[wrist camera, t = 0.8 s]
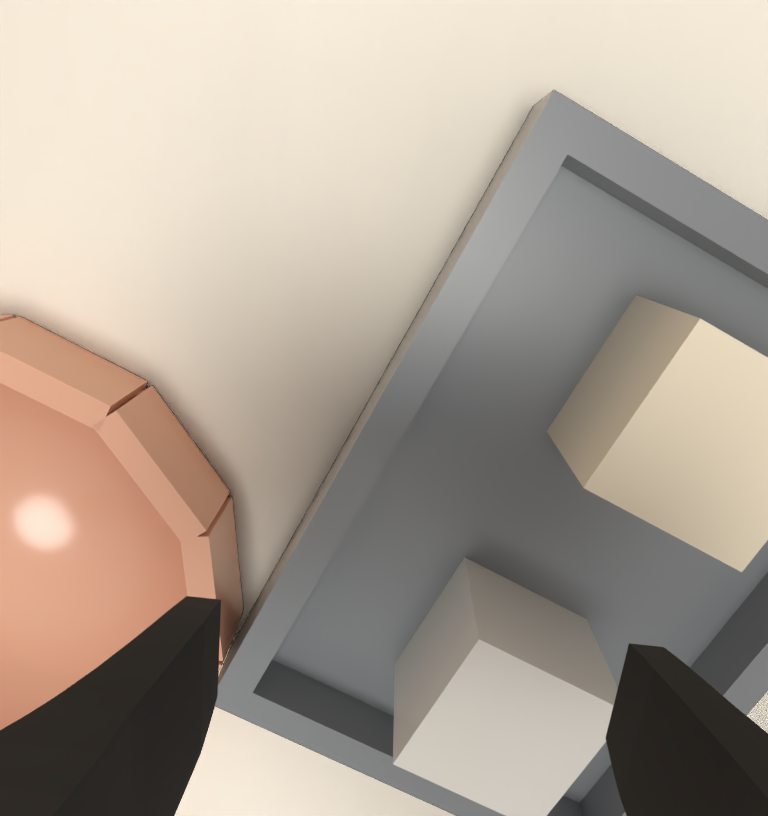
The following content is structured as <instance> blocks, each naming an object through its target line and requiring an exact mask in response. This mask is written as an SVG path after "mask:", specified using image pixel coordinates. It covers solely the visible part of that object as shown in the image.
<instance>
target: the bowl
mask: <svg viewBox="0 0 768 816" xmlns="http://www.w3.org/2000/svg"><path fill="white" fill-rule="evenodd" d="M147 382H148V381H146V380H144V379H143V378H141V377H139V376H137V375H135V374H133V373H131V372H129V371H127V370H125V369H123V368H121V367H119V366H117V365H115V364H113V363H111V362H109V361H107V360H105V359H103V358H101V357H99V356H97V355H95V354H93V353H91V352H89V351H88V350H86V349H84V348H82V347H80V346H78V345H76V344H74V343H72V342H70V341H68V340H66V339H64V338H62V337H60V336H58V335H56V334H54V333H52V332H50V331H48V330H46V329H44V328H42V327H40V326H38V325H36V324H34V323H33V322H31V321H29V320H27V319H25V318H23V317H21V316H20V317H16V318H15V316H14V315H0V730H1V729H3V728H5V727H7V726H8V725H10V724H12V723H13V722H15V721H17V720H19V719H20V718H22V717H24V716H25V715H27V714H29V713H30V712H32V711H34V710H35V709H37V708H38V707H40V706H42V705H43V704H45V703H46V702H48V701H49V700H51V699H52V698H54V697H55V696H57V695H58V694H60V693H61V692H63V691H64V690H66V689H67V688H68V687H70V686H71V685H73V684H74V683H76V682H77V681H78V680H80V679H81V678H83V677H84V676H85V675H87V674H88V673H90V672H91V671H93V670H94V669H95V668H97V667H98V666H99V665H101V664H102V663H103V662H105V661H106V660H107V659H108V658H110V657H111V656H112V655H114V654H115V653H116V652H117V651H119V650H120V649H121V648H123V647H124V646H125V645H126V644H128V643H129V642H130V641H132V640H133V639H134V638H135V637H137V636H138V635H139V634H140V633H142V632H143V631H144V630H145V629H146V628H148V627H149V626H150V625H151V624H153V623H154V622H155V621H156V620H157V619H159V618H160V617H161V616H162V615H163V614H165V613H166V612H167V611H168V610H170V609H171V608H172V607H173V606H175V605H176V604H177V603H178V602H180V601H181V600H182V599H184V598H185V597H186V596H191V597H201V598H210V599H219V600H221V618H220V644H219V669H218V672H219V670H220V668H221V666H222V664H223V662H224V659H225V657H226V654H227V651H228V649H229V646H230V644H231V641H232V639H233V636H234V634H235V631H236V629H237V626H238V624H239V621H240V619H241V616H242V614H243V613H242V611H243V599H242V589H241V579H240V569H239V559H238V549H237V540H236V530H235V520H234V510H233V500H232V497H227V496H228V495H229V493H230V491H229V490H228V488H227V487H226V485H225V484H224V483H223V481H222V480H221V479H220V477H219V476H218V474H217V473H216V472H215V470H214V469H213V468H212V466H211V465H210V463H209V462H208V461H207V459H206V458H205V457H204V455H203V454H202V452H201V451H200V450H199V448H198V447H197V446H196V444H195V443H194V441H193V440H192V439H191V437H190V436H189V435H188V433H187V432H186V430H185V429H184V428H183V426H182V425H181V424H180V422H179V421H178V420H177V418H176V417H175V415H174V414H173V413H172V411H171V410H170V409H169V407H168V406H167V404H166V403H165V402H164V400H163V399H162V398H161V396H160V395H159V393H158V392H157V391H156V389H155V388H154V387H153V385H152V386H150V387H149V388H147V389H144V388H145V386H146V384H147Z"/></svg>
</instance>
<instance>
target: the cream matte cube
mask: <svg viewBox="0 0 768 816" xmlns="http://www.w3.org/2000/svg"><path fill="white" fill-rule="evenodd" d="M547 433H548V434H549V436H550V437H551V439H552V441H553V442H554V444H555V445H556V447H557V448H558V450H559V451H560V453H561V454H562V456H563V457H564V459H565V460H566V462H567V464H568V465H569V467H570V468H571V470H572V471H573V473H574V474H575V476H576V477H577V479H578V480H579V482H580V483H581V485H582V487H583V488H584V489H586V490H588V491H590V492H592V493H594V494H596V495H598V496H599V497H601V498H603V499H605V500H607V501H609V502H611V503H613V504H615V505H616V506H618V507H620V508H622V509H624V510H626V511H628V512H630V513H631V514H633V515H635V516H637V517H639V518H641V519H643V520H645V521H646V522H648V523H650V524H652V525H654V526H656V527H658V528H660V529H661V530H663V531H665V532H667V533H669V534H671V535H673V536H675V537H676V538H678V539H680V540H682V541H684V542H686V543H688V544H690V545H691V546H693V547H695V548H697V549H699V550H701V551H703V552H705V553H707V554H708V555H710V556H712V557H714V558H716V559H718V560H720V561H722V562H723V563H725V564H727V565H729V566H731V567H733V568H735V569H737V570H738V571H740V572H742V571H743V570H744V569H745V568H746V566H747V565H748V564H749V563H750V561H751V560H752V559H753V558H754V556H755V555H756V554H757V553H758V551H759V550H760V549H761V548H762V547H763V545H764V544H765V543H766V542H767V540H768V357H766V356H764V355H762V354H761V353H759V352H757V351H756V350H754V349H752V348H750V347H749V346H747V345H745V344H744V343H742V342H740V341H738V340H737V339H735V338H733V337H732V336H730V335H728V334H726V333H725V332H723V331H721V330H719V329H718V328H716V327H714V326H713V325H711V324H709V323H707V322H706V321H704V320H702V319H701V318H698V317H695V316H692V315H690V314H687V313H684V312H681V311H679V310H676V309H673V308H670V307H668V306H665V305H662V304H659V303H657V302H654V301H651V300H648V299H646V298H643V297H640V296H637V295H635V297H634V298H633V300H632V301H631V303H630V304H629V306H628V308H627V309H626V311H625V312H624V314H623V315H622V317H621V318H620V320H619V321H618V323H617V324H616V326H615V327H614V329H613V330H612V332H611V334H610V335H609V337H608V338H607V340H606V341H605V343H604V344H603V346H602V347H601V349H600V350H599V352H598V353H597V355H596V357H595V358H594V360H593V361H592V363H591V364H590V366H589V367H588V369H587V370H586V372H585V373H584V375H583V376H582V378H581V379H580V381H579V383H578V384H577V386H576V387H575V389H574V390H573V392H572V393H571V395H570V396H569V398H568V399H567V401H566V402H565V404H564V406H563V407H562V409H561V410H560V412H559V413H558V415H557V416H556V418H555V419H554V421H553V422H552V424H551V425H550V427H549V428H548V430H547Z"/></svg>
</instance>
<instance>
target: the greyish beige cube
mask: <svg viewBox="0 0 768 816" xmlns="http://www.w3.org/2000/svg"><path fill="white" fill-rule="evenodd" d="M617 690H618V687H617V685H616V683H615V681H614V678H613V676H612V674H611V672H610V669H609V667H608V665H607V663H606V661H605V658H604V656H603V654H602V652H601V649H600V647H599V645H598V643H597V641H596V638H595V636H594V634H593V632H592V630H591V627H590V625H589V623H588V621H587V619H585V618H583V617H582V616H580V615H578V614H576V613H574V612H572V611H570V610H568V609H566V608H564V607H562V606H560V605H558V604H556V603H554V602H552V601H550V600H548V599H546V598H544V597H542V596H540V595H538V594H536V593H534V592H532V591H530V590H528V589H526V588H524V587H522V586H520V585H518V584H516V583H514V582H512V581H510V580H508V579H506V578H504V577H502V576H500V575H498V574H497V573H495V572H493V571H491V570H489V569H487V568H485V567H483V566H481V565H479V564H477V563H475V562H473V561H471V560H469V559H467V558H465V557H464V559H463V560H462V562H461V563H460V565H459V566H458V568H457V569H456V571H455V572H454V574H453V575H452V577H451V579H450V580H449V582H448V583H447V585H446V586H445V588H444V589H443V591H442V592H441V594H440V595H439V597H438V598H437V600H436V601H435V603H434V605H433V606H432V608H431V609H430V611H429V612H428V614H427V615H426V617H425V618H424V620H423V621H422V623H421V624H420V626H419V627H418V629H417V631H416V632H415V634H414V635H413V637H412V638H411V640H410V641H409V643H408V644H407V646H406V647H405V649H404V650H403V652H402V654H401V655H400V657H399V658H398V660H397V661H396V663H395V670H394V730H393V764H394V765H396V766H398V767H400V768H402V769H405V770H407V771H409V772H411V773H413V774H416V775H418V776H420V777H422V778H424V779H426V780H429V781H431V782H433V783H435V784H437V785H440V786H442V787H444V788H446V789H448V790H450V791H453V792H455V793H457V794H459V795H461V796H464V797H466V798H468V799H470V800H472V801H474V802H477V803H479V804H481V805H483V806H485V807H488V808H490V809H492V810H494V811H496V812H498V813H501V814H503V815H505V816H547V815H548V813H549V812H550V811H551V810H552V808H553V807H554V806H555V805H556V804H557V802H558V801H559V800H560V799H561V797H562V796H563V795H564V794H565V792H566V791H567V790H568V789H569V787H570V786H571V785H572V784H573V782H574V781H575V780H576V779H577V777H578V776H579V775H580V774H581V772H582V771H583V770H584V769H585V767H586V766H587V765H588V764H589V762H590V761H591V760H592V759H593V757H594V756H595V755H596V754H597V752H598V751H599V750H600V749H601V747H602V746H603V745H604V744H605V742H606V734H607V730H608V726H609V722H610V718H611V714H612V710H613V706H614V702H615V698H616V694H617Z"/></svg>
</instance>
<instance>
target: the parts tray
mask: <svg viewBox="0 0 768 816" xmlns="http://www.w3.org/2000/svg"><path fill="white" fill-rule="evenodd" d="M635 295H637V296H640V297H643V298H646V299H648V300H651V301H654V302H657V303H659V304H662V305H665V306H668V307H670V308H673V309H676V310H679V311H681V312H684V313H687V314H690V315H692V316H695V317H698V318H701V319H702V320H704V321H706V322H707V323H709V324H711V325H713V326H714V327H716V328H718V329H719V330H721V331H723V332H725V333H726V334H728V335H730V336H732V337H733V338H735V339H737V340H738V341H740V342H742V343H744V344H745V345H747V346H749V347H750V348H752V349H754V350H756V351H757V352H759V353H761V354H762V355H764V356H766V357H768V220H767V219H766V218H764V217H762V216H761V215H759V214H757V213H756V212H754V211H752V210H751V209H749V208H748V207H746V206H744V205H743V204H741V203H739V202H738V201H736V200H734V199H733V198H731V197H730V196H728V195H726V194H725V193H723V192H721V191H720V190H718V189H716V188H715V187H713V186H712V185H710V184H708V183H707V182H705V181H703V180H702V179H700V178H698V177H697V176H695V175H694V174H692V173H690V172H689V171H687V170H685V169H684V168H682V167H680V166H679V165H677V164H676V163H674V162H672V161H671V160H669V159H667V158H666V157H664V156H662V155H661V154H659V153H657V152H656V151H654V150H653V149H651V148H649V147H648V146H646V145H644V144H643V143H641V142H639V141H638V140H636V139H635V138H633V137H631V136H630V135H628V134H626V133H625V132H623V131H621V130H620V129H618V128H617V127H615V126H613V125H612V124H610V123H608V122H607V121H605V120H603V119H602V118H600V117H599V116H597V115H595V114H594V113H592V112H590V111H589V110H587V109H585V108H584V107H582V106H581V105H579V104H577V103H576V102H574V101H572V100H571V99H569V98H567V97H566V96H564V95H563V94H561V93H559V92H558V91H556V90H553V91H552V92H550V93H549V94H548V95H547V96H545V97H544V98H543V99H542V100H540V101H539V102H538V103H537V104H535V105H534V106H533V107H532V109H531V111H530V113H529V114H528V116H527V118H526V120H525V122H524V123H523V125H522V127H521V129H520V131H519V132H518V134H517V136H516V138H515V139H514V141H513V143H512V145H511V147H510V148H509V150H508V152H507V154H506V156H505V157H504V159H503V161H502V163H501V164H500V166H499V168H498V170H497V172H496V173H495V175H494V177H493V179H492V181H491V182H490V184H489V186H488V188H487V190H486V191H485V193H484V195H483V197H482V198H481V200H480V202H479V204H478V206H477V207H476V209H475V211H474V213H473V215H472V216H471V218H470V220H469V222H468V224H467V225H466V227H465V229H464V231H463V232H462V234H461V236H460V238H459V240H458V241H457V243H456V245H455V247H454V249H453V250H452V252H451V254H450V256H449V258H448V259H447V261H446V263H445V265H444V266H443V268H442V270H441V272H440V274H439V275H438V277H437V279H436V281H435V283H434V284H433V286H432V288H431V290H430V291H429V293H428V295H427V297H426V299H425V300H424V302H423V304H422V306H421V308H420V309H419V311H418V313H417V315H416V317H415V318H414V320H413V322H412V324H411V325H410V327H409V329H408V331H407V333H406V334H405V336H404V338H403V340H402V342H401V343H400V345H399V347H398V349H397V351H396V352H395V354H394V356H393V358H392V359H391V361H390V363H389V365H388V367H387V368H386V370H385V372H384V374H383V376H382V377H381V379H380V381H379V383H378V384H377V386H376V388H375V390H374V392H373V393H372V395H371V397H370V399H369V401H368V402H367V404H366V406H365V408H364V410H363V411H362V413H361V415H360V417H359V418H358V420H357V422H356V424H355V426H354V427H353V429H352V431H351V433H350V435H349V436H348V438H347V440H346V442H345V444H344V445H343V447H342V449H341V451H340V452H339V454H338V456H337V458H336V460H335V461H334V463H333V465H332V467H331V469H330V470H329V472H328V474H327V476H326V477H325V479H324V481H323V483H322V485H321V486H320V488H319V490H318V492H317V494H316V495H315V497H314V499H313V501H312V503H311V504H310V506H309V508H308V510H307V511H306V513H305V515H304V517H303V519H302V520H301V522H300V524H299V526H298V528H297V529H296V531H295V533H294V535H293V537H292V538H291V540H290V542H289V544H288V545H287V547H286V549H285V551H284V553H283V554H282V556H281V558H280V560H279V562H278V563H277V565H276V567H275V569H274V571H273V572H272V574H271V576H270V578H269V579H268V581H267V583H266V585H265V587H264V588H263V590H262V592H261V594H260V596H259V597H258V599H257V601H256V603H255V604H254V606H253V608H252V610H251V612H250V613H249V615H248V617H247V619H246V621H245V622H244V624H243V626H242V628H241V630H240V631H239V633H238V635H237V637H236V638H235V640H234V642H233V644H232V646H231V647H230V649H229V651H228V654H227V657H226V659H225V662H224V664H223V667H222V669H221V672H220V674H219V677H218V695H217V700H216V703H215V706H216V707H218V708H220V709H222V710H224V711H227V712H229V713H231V714H233V715H235V716H238V717H240V718H242V719H244V720H246V721H249V722H251V723H253V724H255V725H257V726H260V727H262V728H264V729H266V730H268V731H271V732H273V733H275V734H277V735H279V736H282V737H284V738H286V739H288V740H290V741H293V742H295V743H297V744H299V745H302V746H304V747H306V748H308V749H310V750H313V751H315V752H317V753H319V754H321V755H324V756H326V757H328V758H330V759H332V760H335V761H337V762H339V763H341V764H343V765H346V766H348V767H350V768H352V769H354V770H357V771H359V772H361V773H363V774H365V775H368V776H370V777H372V778H374V779H377V780H379V781H381V782H383V783H385V784H388V785H390V786H392V787H394V788H396V789H399V790H401V791H403V792H405V793H407V794H410V795H412V796H414V797H416V798H418V799H421V800H423V801H425V802H427V803H429V804H432V805H434V806H436V807H438V808H440V809H443V810H445V811H447V812H449V813H451V814H454V815H456V816H505V815H503V814H501V813H498V812H496V811H494V810H492V809H490V808H488V807H485V806H483V805H481V804H479V803H477V802H474V801H472V800H470V799H468V798H466V797H464V796H461V795H459V794H457V793H455V792H453V791H450V790H448V789H446V788H444V787H442V786H440V785H437V784H435V783H433V782H431V781H429V780H426V779H424V778H422V777H420V776H418V775H416V774H413V773H411V772H409V771H407V770H405V769H402V768H400V767H398V766H396V765H394V764H393V730H394V670H395V663H396V661H397V660H398V658H399V657H400V655H401V654H402V652H403V650H404V649H405V647H406V646H407V644H408V643H409V641H410V640H411V638H412V637H413V635H414V634H415V632H416V631H417V629H418V627H419V626H420V624H421V623H422V621H423V620H424V618H425V617H426V615H427V614H428V612H429V611H430V609H431V608H432V606H433V605H434V603H435V601H436V600H437V598H438V597H439V595H440V594H441V592H442V591H443V589H444V588H445V586H446V585H447V583H448V582H449V580H450V579H451V577H452V575H453V574H454V572H455V571H456V569H457V568H458V566H459V565H460V563H461V562H462V560H463V559H464V557H465V558H467V559H469V560H471V561H473V562H475V563H477V564H479V565H481V566H483V567H485V568H487V569H489V570H491V571H493V572H495V573H497V574H498V575H500V576H502V577H504V578H506V579H508V580H510V581H512V582H514V583H516V584H518V585H520V586H522V587H524V588H526V589H528V590H530V591H532V592H534V593H536V594H538V595H540V596H542V597H544V598H546V599H548V600H550V601H552V602H554V603H556V604H558V605H560V606H562V607H564V608H566V609H568V610H570V611H572V612H574V613H576V614H578V615H580V616H582V617H583V618H585V619H587V621H588V623H589V625H590V627H591V630H592V632H593V634H594V636H595V638H596V641H597V643H598V645H599V647H600V649H601V652H602V654H603V656H604V658H605V661H606V663H607V665H608V667H609V669H610V672H611V674H612V676H613V678H614V681H615V683H616V685H617V687H618V686H619V682H620V678H621V673H622V669H623V665H624V661H625V657H626V653H627V649H628V645H629V643H631V644H640V645H649V646H659V647H664V648H666V649H667V650H668V651H670V652H671V653H672V654H674V655H675V656H676V657H677V658H679V659H680V660H681V661H682V662H684V663H685V664H686V665H687V666H688V667H690V668H691V669H692V670H693V671H694V672H695V673H697V674H698V675H699V676H700V677H701V678H703V679H704V680H705V681H706V682H707V683H708V684H710V685H711V686H712V687H713V688H714V689H715V690H717V691H718V692H719V693H720V694H721V695H722V696H724V697H725V698H726V699H727V700H728V701H729V702H731V703H732V704H733V705H734V706H735V707H736V708H738V709H739V710H740V711H741V712H742V713H743V714H745V715H747V714H748V713H749V712H750V711H751V709H752V708H753V707H754V706H755V705H756V704H757V703H758V701H759V700H760V699H761V698H762V697H763V696H764V694H765V693H766V692H767V691H768V540H767V542H766V543H765V544H764V545H763V547H762V548H761V549H760V550H759V551H758V553H757V554H756V555H755V556H754V558H753V559H752V560H751V561H750V563H749V564H748V565H747V566H746V568H745V569H744V570H743V571H742V572H740V571H738V570H737V569H735V568H733V567H731V566H729V565H727V564H725V563H723V562H722V561H720V560H718V559H716V558H714V557H712V556H710V555H708V554H707V553H705V552H703V551H701V550H699V549H697V548H695V547H693V546H691V545H690V544H688V543H686V542H684V541H682V540H680V539H678V538H676V537H675V536H673V535H671V534H669V533H667V532H665V531H663V530H661V529H660V528H658V527H656V526H654V525H652V524H650V523H648V522H646V521H645V520H643V519H641V518H639V517H637V516H635V515H633V514H631V513H630V512H628V511H626V510H624V509H622V508H620V507H618V506H616V505H615V504H613V503H611V502H609V501H607V500H605V499H603V498H601V497H599V496H598V495H596V494H594V493H592V492H590V491H588V490H586V489H584V488H583V487H582V485H581V483H580V482H579V480H578V479H577V477H576V476H575V474H574V473H573V471H572V470H571V468H570V467H569V465H568V464H567V462H566V460H565V459H564V457H563V456H562V454H561V453H560V451H559V450H558V448H557V447H556V445H555V444H554V442H553V441H552V439H551V437H550V436H549V434H548V433H547V430H548V428H549V427H550V425H551V424H552V422H553V421H554V419H555V418H556V416H557V415H558V413H559V412H560V410H561V409H562V407H563V406H564V404H565V402H566V401H567V399H568V398H569V396H570V395H571V393H572V392H573V390H574V389H575V387H576V386H577V384H578V383H579V381H580V379H581V378H582V376H583V375H584V373H585V372H586V370H587V369H588V367H589V366H590V364H591V363H592V361H593V360H594V358H595V357H596V355H597V353H598V352H599V350H600V349H601V347H602V346H603V344H604V343H605V341H606V340H607V338H608V337H609V335H610V334H611V332H612V330H613V329H614V327H615V326H616V324H617V323H618V321H619V320H620V318H621V317H622V315H623V314H624V312H625V311H626V309H627V308H628V306H629V304H630V303H631V301H632V300H633V298H634V297H635ZM547 816H627V815H626V813H625V810H624V807H623V804H622V802H621V799H620V796H619V792H618V788H617V784H616V780H615V776H614V773H613V769H612V764H611V760H610V756H609V751H608V747H607V742H605V744H604V745H603V746H602V747H601V749H600V750H599V751H598V752H597V754H596V755H595V756H594V757H593V759H592V760H591V761H590V762H589V764H588V765H587V766H586V767H585V769H584V770H583V771H582V772H581V774H580V775H579V776H578V777H577V779H576V780H575V781H574V782H573V784H572V785H571V786H570V787H569V789H568V790H567V791H566V792H565V794H564V795H563V796H562V797H561V799H560V800H559V801H558V802H557V804H556V805H555V806H554V807H553V808H552V810H551V811H550V812H549V813H548V815H547Z"/></svg>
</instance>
